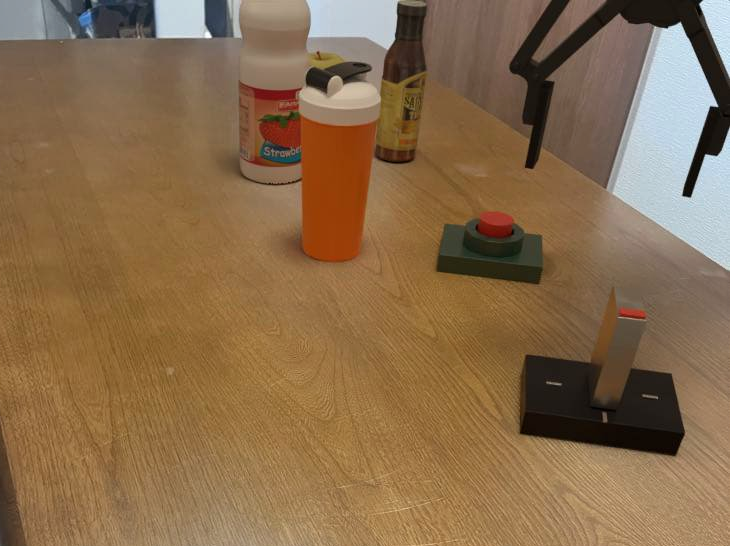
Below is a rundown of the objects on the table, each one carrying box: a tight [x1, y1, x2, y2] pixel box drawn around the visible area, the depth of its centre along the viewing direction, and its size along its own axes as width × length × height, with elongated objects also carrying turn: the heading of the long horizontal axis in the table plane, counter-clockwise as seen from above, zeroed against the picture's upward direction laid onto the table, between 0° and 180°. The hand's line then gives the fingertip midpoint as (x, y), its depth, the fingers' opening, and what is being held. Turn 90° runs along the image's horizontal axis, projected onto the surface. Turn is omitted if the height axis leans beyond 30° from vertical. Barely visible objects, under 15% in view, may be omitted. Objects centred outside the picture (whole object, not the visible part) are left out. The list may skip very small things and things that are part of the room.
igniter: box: [436, 217, 544, 285], centre depth 104 cm, size 12×9×4 cm
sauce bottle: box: [374, 0, 428, 162], centre depth 123 cm, size 7×6×20 cm
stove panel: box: [519, 353, 686, 456], centre depth 81 cm, size 14×10×3 cm
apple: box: [308, 50, 346, 70], centre depth 143 cm, size 10×10×8 cm
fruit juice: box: [237, 0, 312, 185], centre depth 113 cm, size 9×9×28 cm
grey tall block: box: [587, 284, 648, 410], centre depth 77 cm, size 6×2×9 cm, turn 170°
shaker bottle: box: [298, 61, 381, 263], centre depth 99 cm, size 9×9×20 cm
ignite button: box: [477, 211, 515, 238], centre depth 102 cm, size 4×4×2 cm
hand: (607, 177), depth 76 cm, fingers open, 13 cm apart
